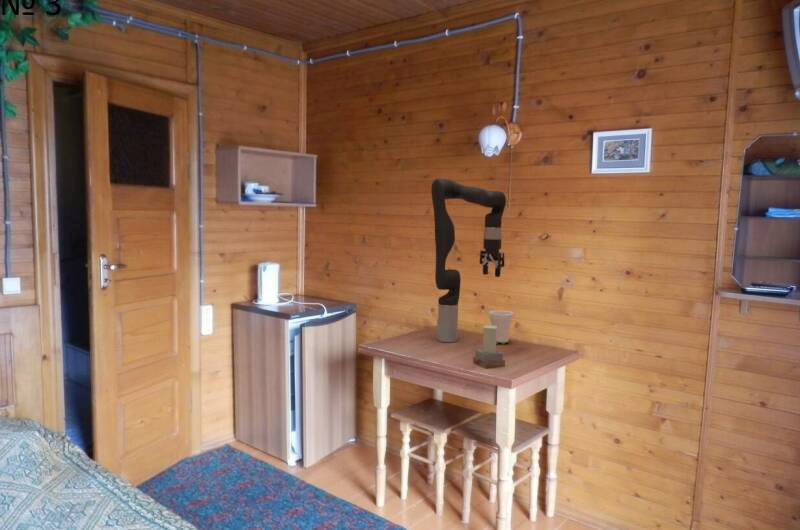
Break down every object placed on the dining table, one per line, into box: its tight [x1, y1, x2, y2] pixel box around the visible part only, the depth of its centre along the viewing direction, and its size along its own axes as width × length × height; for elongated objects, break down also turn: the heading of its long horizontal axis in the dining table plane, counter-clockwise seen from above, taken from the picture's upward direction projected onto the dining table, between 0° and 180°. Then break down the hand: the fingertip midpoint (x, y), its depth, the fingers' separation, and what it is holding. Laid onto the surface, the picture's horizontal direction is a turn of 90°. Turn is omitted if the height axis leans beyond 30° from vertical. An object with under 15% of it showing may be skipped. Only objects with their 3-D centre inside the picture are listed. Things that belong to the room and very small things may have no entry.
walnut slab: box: [472, 356, 506, 370], centre depth 231 cm, size 9×9×3 cm
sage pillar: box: [482, 324, 497, 354], centre depth 229 cm, size 5×5×10 cm
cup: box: [488, 309, 514, 345], centre depth 267 cm, size 11×11×14 cm
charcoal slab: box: [474, 348, 504, 362], centre depth 230 cm, size 8×8×3 cm
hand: (491, 275), depth 248 cm, fingers open, 8 cm apart
